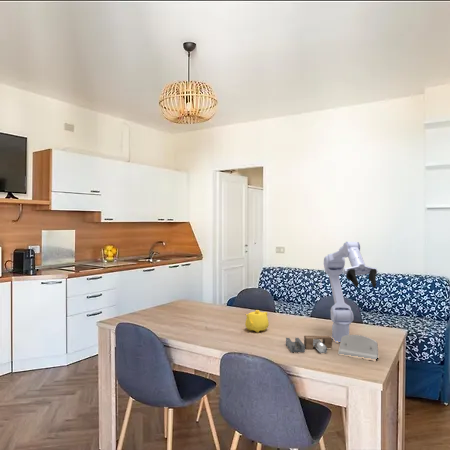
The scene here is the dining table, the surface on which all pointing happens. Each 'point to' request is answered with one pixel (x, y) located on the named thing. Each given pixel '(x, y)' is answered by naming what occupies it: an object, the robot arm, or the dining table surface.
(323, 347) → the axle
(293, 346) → the v block
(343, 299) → the robot arm
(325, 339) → the beam
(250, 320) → the teapot
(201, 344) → the dining table surface
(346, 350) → the hinge
